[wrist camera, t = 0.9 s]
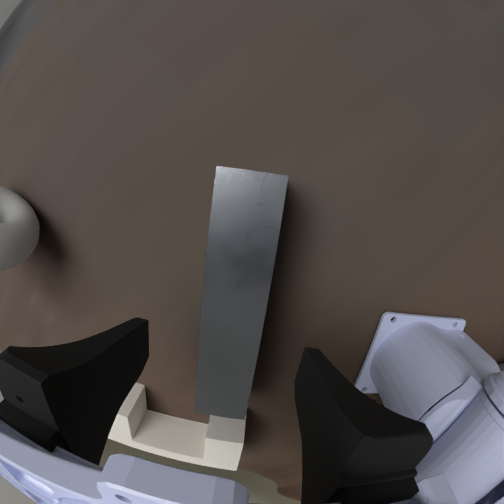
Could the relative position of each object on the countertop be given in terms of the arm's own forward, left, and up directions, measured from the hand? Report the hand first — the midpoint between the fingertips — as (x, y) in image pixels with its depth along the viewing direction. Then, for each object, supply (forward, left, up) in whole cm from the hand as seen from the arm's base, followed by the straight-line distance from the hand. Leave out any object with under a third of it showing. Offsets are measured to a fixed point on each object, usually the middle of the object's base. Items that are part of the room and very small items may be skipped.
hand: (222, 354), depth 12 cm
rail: (0, 0, -8) cm, 8 cm away
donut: (+20, -3, -8) cm, 22 cm away
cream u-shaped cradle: (+4, +13, -8) cm, 16 cm away
